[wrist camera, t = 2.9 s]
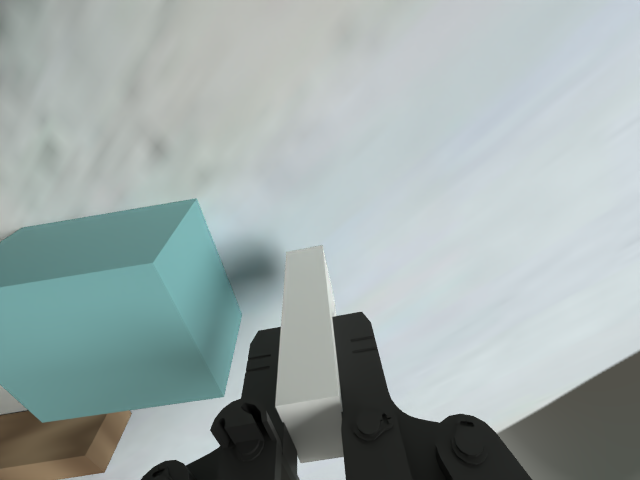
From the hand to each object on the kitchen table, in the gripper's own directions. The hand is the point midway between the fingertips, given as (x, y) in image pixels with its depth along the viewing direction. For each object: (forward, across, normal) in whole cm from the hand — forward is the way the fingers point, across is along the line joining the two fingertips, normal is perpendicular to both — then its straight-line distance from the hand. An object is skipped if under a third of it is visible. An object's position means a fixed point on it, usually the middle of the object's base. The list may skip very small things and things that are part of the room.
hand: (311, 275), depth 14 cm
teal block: (+3, -8, 0) cm, 9 cm away
